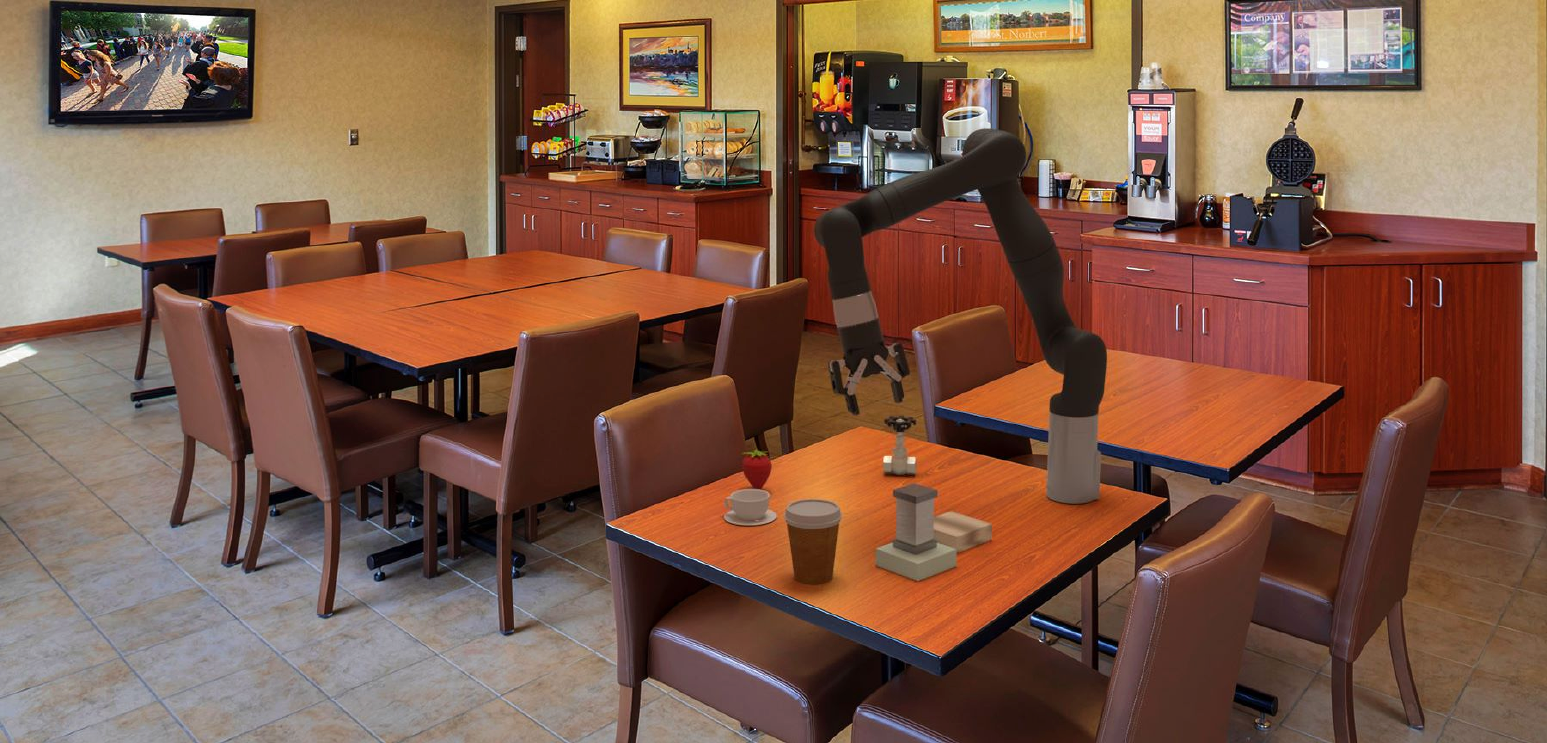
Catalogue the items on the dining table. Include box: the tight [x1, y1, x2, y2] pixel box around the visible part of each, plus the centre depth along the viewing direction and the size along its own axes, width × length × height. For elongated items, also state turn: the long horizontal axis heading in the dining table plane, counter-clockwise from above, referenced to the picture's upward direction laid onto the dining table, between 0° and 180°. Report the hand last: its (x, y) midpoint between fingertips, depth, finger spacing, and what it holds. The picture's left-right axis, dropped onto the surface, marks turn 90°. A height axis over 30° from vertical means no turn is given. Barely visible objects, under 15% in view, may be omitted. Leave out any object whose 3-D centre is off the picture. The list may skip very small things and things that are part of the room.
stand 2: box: [933, 510, 993, 554], centre depth 211 cm, size 10×10×3 cm
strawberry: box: [741, 447, 773, 490], centre depth 239 cm, size 6×8×10 cm
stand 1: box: [875, 541, 958, 582], centre depth 200 cm, size 10×10×3 cm
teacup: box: [723, 488, 778, 526], centre depth 224 cm, size 10×10×5 cm
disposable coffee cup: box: [783, 498, 843, 585], centre depth 195 cm, size 10×10×12 cm
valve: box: [882, 414, 917, 476], centre depth 248 cm, size 7×7×12 cm
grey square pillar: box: [892, 482, 939, 555], centre depth 199 cm, size 5×5×10 cm
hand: (877, 408), depth 213 cm, fingers open, 8 cm apart
